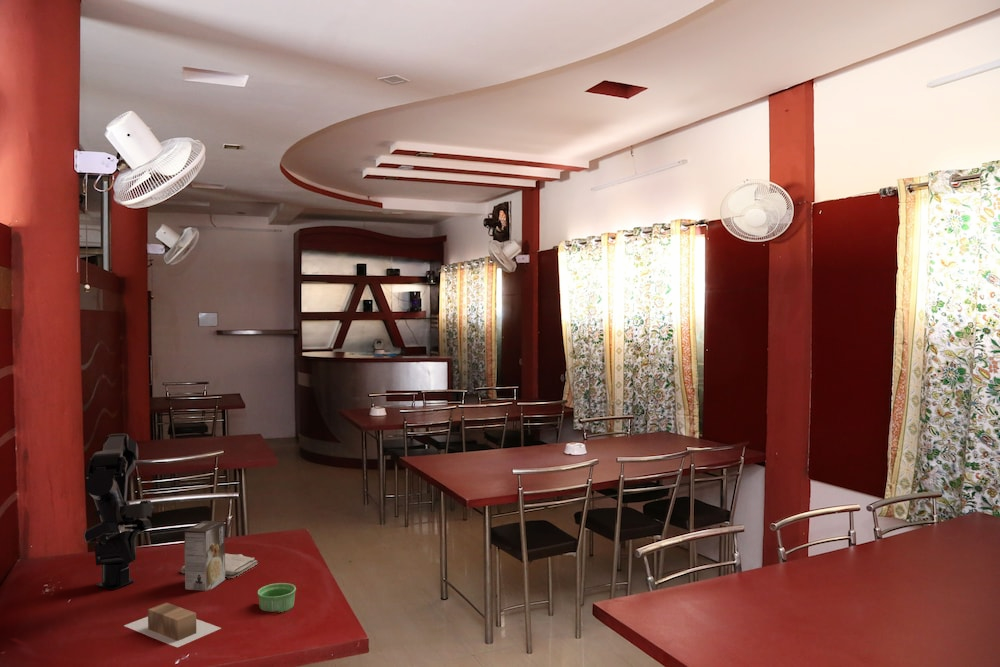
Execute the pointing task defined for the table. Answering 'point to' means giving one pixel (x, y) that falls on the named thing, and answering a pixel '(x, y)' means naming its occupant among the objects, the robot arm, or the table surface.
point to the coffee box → (204, 555)
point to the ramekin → (276, 597)
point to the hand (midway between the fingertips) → (130, 562)
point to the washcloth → (235, 565)
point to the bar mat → (201, 631)
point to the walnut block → (172, 621)
